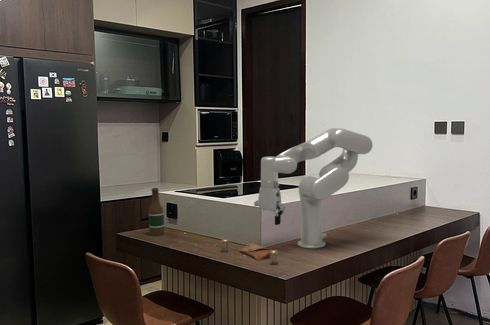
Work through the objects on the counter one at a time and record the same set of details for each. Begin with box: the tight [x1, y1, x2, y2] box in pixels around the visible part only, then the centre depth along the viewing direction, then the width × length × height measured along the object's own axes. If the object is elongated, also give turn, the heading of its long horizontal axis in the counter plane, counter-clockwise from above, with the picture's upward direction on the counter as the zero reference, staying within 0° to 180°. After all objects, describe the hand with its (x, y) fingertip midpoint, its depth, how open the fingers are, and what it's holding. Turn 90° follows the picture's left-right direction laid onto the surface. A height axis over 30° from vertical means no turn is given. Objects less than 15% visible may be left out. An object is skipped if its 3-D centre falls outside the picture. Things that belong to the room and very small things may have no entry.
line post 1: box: [220, 238, 230, 253], centre depth 213 cm, size 3×3×5 cm
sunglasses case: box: [237, 241, 271, 262], centre depth 207 cm, size 18×7×7 cm, turn 33°
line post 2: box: [269, 249, 279, 265], centre depth 194 cm, size 3×3×5 cm
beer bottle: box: [148, 187, 165, 237], centre depth 246 cm, size 8×8×24 cm
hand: (269, 222), depth 213 cm, fingers open, 9 cm apart
